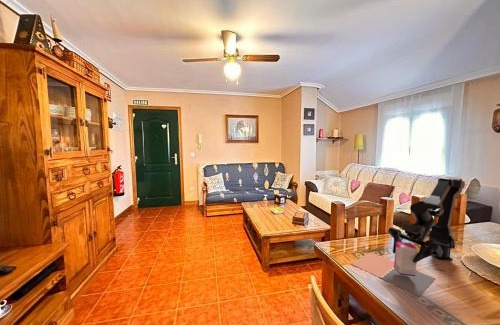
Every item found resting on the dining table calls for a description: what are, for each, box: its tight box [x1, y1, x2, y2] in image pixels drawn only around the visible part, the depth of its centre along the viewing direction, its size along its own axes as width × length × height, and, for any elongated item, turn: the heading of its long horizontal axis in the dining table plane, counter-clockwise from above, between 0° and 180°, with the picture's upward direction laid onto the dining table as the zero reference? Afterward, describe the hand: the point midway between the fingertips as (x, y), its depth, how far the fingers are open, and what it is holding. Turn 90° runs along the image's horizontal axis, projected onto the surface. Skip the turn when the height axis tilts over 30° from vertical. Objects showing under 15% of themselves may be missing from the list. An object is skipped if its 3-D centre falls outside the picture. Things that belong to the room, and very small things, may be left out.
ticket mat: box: [350, 252, 436, 298], centre depth 95 cm, size 26×18×1 cm
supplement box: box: [393, 241, 419, 276], centre depth 90 cm, size 6×6×12 cm
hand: (403, 257), depth 89 cm, fingers closed on supplement box, 8 cm apart
